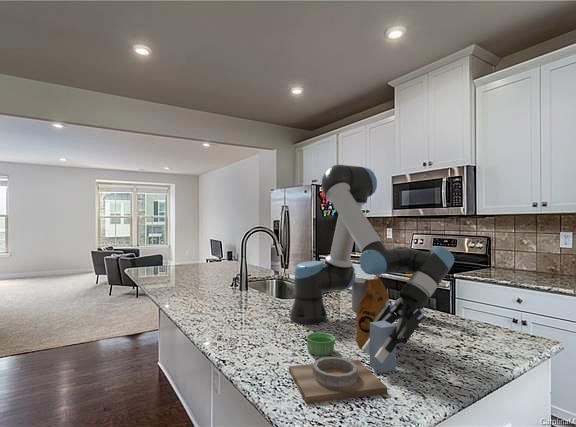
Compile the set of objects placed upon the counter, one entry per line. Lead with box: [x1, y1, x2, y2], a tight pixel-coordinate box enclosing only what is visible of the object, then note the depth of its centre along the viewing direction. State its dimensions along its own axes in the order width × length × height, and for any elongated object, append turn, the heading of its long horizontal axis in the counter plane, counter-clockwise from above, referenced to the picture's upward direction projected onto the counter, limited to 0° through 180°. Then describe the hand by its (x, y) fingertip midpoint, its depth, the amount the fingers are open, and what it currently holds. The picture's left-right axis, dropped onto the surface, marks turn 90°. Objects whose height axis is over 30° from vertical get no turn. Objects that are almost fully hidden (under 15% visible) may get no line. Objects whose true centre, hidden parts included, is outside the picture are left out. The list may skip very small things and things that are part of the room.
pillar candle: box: [351, 277, 368, 313], centre depth 152 cm, size 10×10×15 cm
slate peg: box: [369, 321, 397, 374], centre depth 93 cm, size 5×5×12 cm
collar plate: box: [288, 356, 388, 405], centre depth 84 cm, size 16×20×4 cm
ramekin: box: [305, 332, 336, 357], centre depth 104 cm, size 9×9×4 cm
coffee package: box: [355, 275, 390, 348], centre depth 111 cm, size 10×12×22 cm
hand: (371, 355), depth 91 cm, fingers closed on slate peg, 5 cm apart
